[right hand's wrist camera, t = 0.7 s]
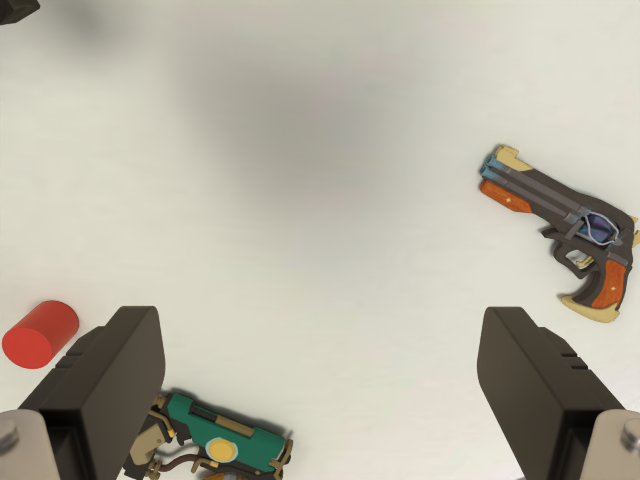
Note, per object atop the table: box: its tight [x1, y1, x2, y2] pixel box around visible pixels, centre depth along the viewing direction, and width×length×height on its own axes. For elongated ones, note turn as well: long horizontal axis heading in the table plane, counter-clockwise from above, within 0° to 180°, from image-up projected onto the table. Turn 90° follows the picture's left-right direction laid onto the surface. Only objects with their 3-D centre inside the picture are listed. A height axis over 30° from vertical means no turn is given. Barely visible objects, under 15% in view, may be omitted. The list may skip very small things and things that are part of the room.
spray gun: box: [122, 393, 293, 480], centre depth 49 cm, size 4×17×15 cm
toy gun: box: [480, 145, 640, 323], centre depth 41 cm, size 3×19×10 cm
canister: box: [2, 301, 79, 369], centre depth 43 cm, size 4×4×5 cm
